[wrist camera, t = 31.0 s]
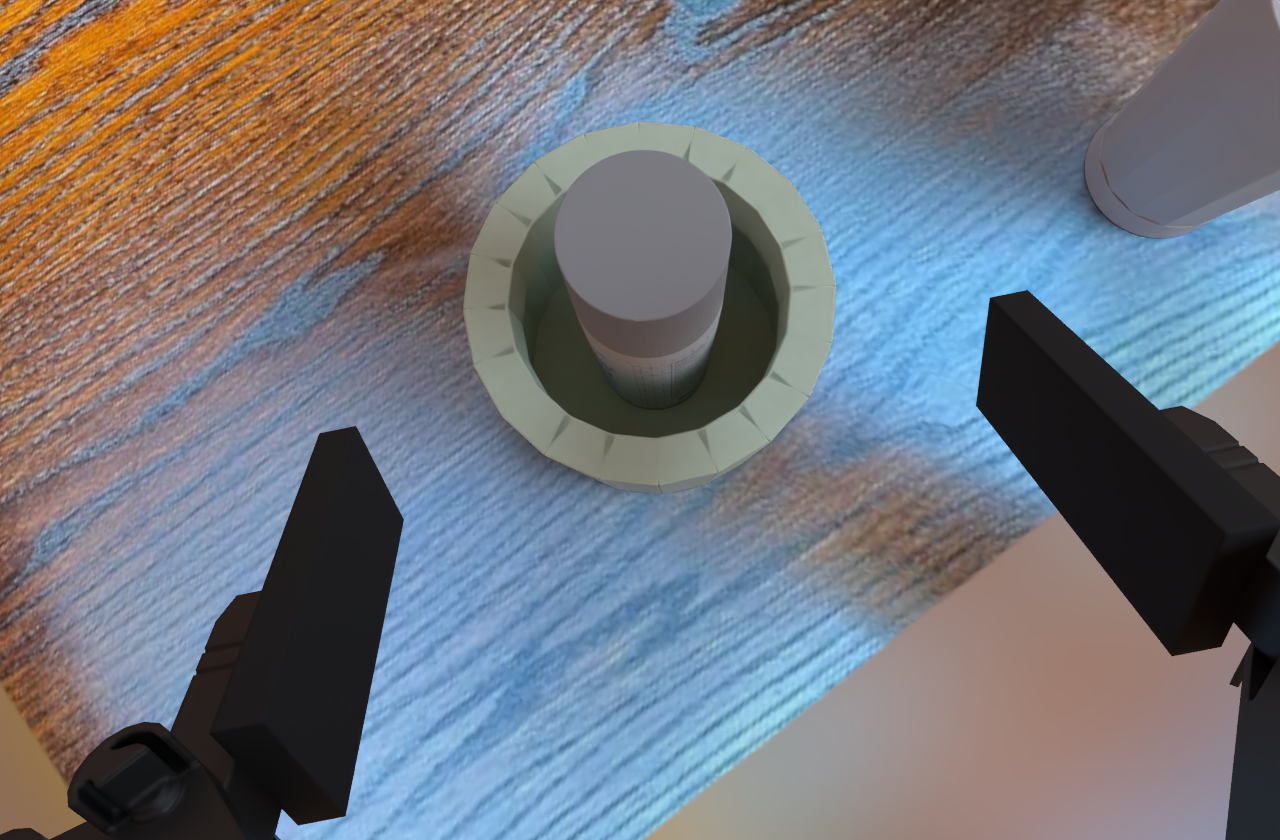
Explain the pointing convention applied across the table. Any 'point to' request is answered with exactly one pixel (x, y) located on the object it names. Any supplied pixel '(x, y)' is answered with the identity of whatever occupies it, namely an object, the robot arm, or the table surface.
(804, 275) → the round pot
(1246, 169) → the cup
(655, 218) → the container
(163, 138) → the table surface
